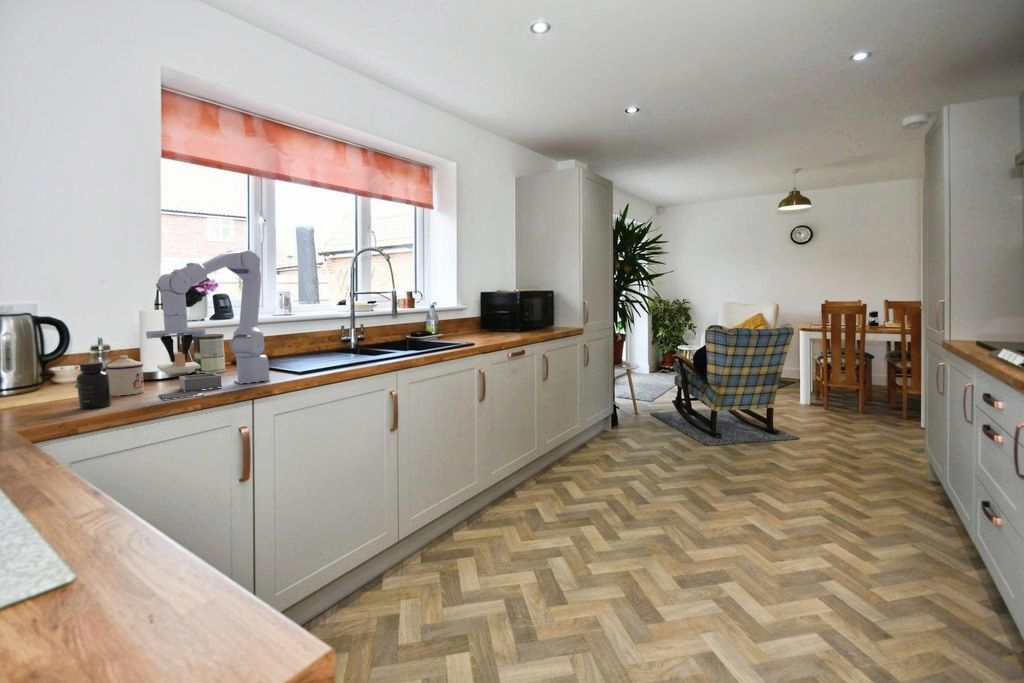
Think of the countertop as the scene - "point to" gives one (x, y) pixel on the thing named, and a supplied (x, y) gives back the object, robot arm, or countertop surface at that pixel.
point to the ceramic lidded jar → (125, 376)
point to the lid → (179, 365)
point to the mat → (179, 394)
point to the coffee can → (209, 353)
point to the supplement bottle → (93, 386)
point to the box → (200, 382)
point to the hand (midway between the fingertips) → (178, 361)
